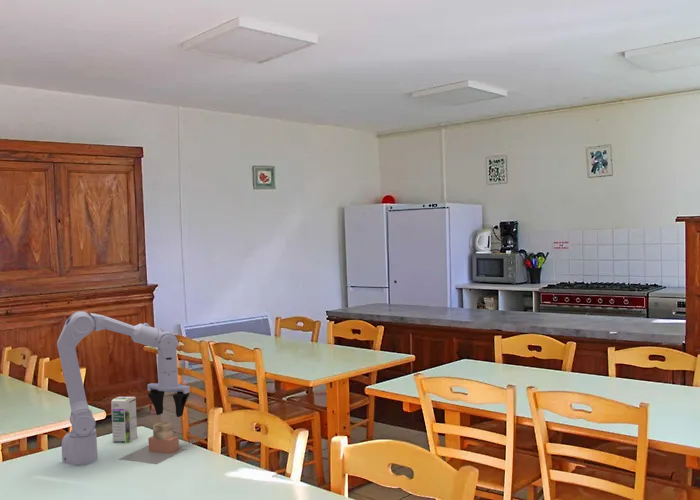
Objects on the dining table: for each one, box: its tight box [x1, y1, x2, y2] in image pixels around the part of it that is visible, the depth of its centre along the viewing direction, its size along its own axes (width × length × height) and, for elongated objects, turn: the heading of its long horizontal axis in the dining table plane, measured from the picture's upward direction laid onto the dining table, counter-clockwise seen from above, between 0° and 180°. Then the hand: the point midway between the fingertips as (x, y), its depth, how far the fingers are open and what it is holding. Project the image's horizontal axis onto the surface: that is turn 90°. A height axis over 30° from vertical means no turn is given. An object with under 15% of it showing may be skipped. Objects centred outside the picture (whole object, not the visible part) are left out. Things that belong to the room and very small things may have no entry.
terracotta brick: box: [147, 435, 180, 454], centre depth 198 cm, size 8×4×4 cm, turn 67°
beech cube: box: [152, 421, 174, 440], centre depth 198 cm, size 4×4×4 cm
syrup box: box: [110, 396, 138, 444], centre depth 210 cm, size 6×6×14 cm
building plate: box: [119, 444, 187, 465], centre depth 196 cm, size 14×14×1 cm
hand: (169, 415), depth 203 cm, fingers open, 7 cm apart
